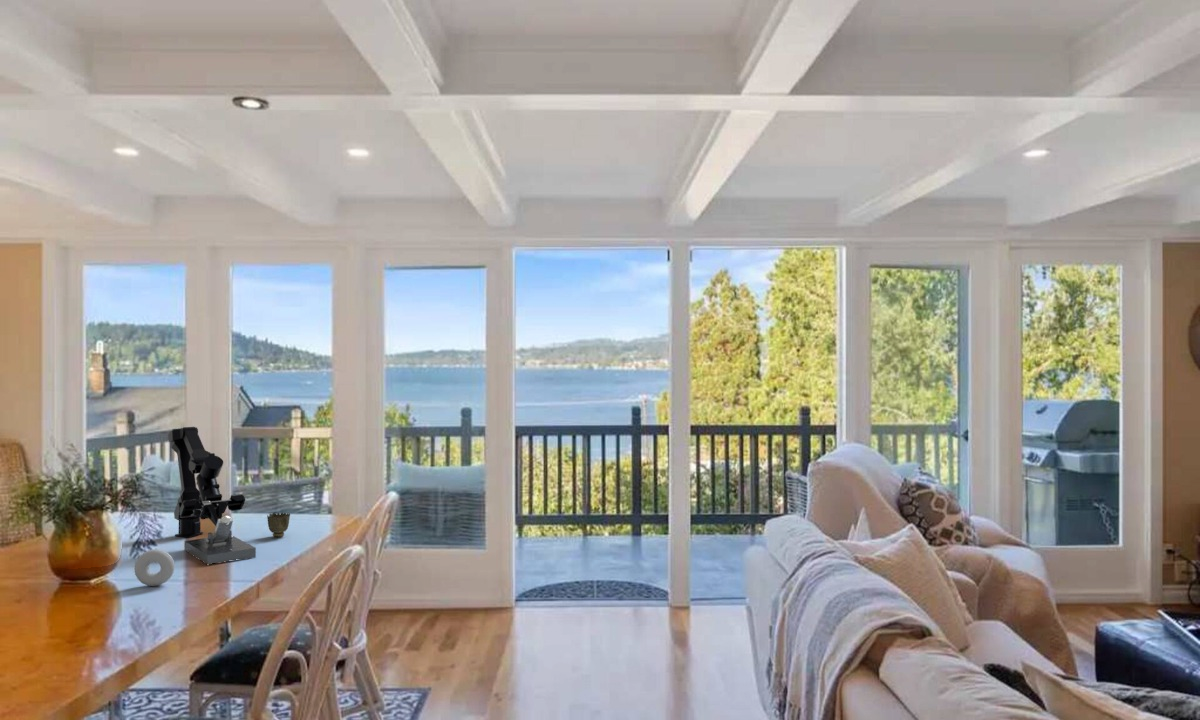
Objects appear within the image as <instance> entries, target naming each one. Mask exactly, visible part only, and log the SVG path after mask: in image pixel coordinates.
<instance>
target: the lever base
mask: <svg viewBox="0 0 1200 720" xmlns="http://www.w3.org/2000/svg"><path fill="white" fill-rule="evenodd" d="M213 535H214V532H210V531H209V532H207V537H203V538H197V539H196V538H195V539H190V540H184V551H185V552H186V551H187V552H186V553H188V552H189V553H190V554H189V553H188V554H189V555H191V554H192V555H191V556H193V555H194V556H195V557H194V556H193V557H194V558H196V557H197V558H199V559H200V560H202V561H204V562H205V563H207V564H211V563H218V562H224V561H229V560H236V559H242V560H246V559H245V558H248V559H253V558H252V557H254V558H256V557H257V555H256V554H257V547H255V546H253V545H251V544H250V543H248V542H245V541H244V540H242V539H240V538H238V537H236V536H235V535H233V534H232V530H231V529H230V532H229V535H228V539H227V542H222V543H215V544H213ZM197 558H196V559H197ZM199 559H198V560H199ZM200 560H199V561H200ZM202 561H201V562H202ZM236 561H237V560H236ZM205 563H204V564H205ZM224 563H225V562H224ZM218 564H219V563H218Z"/></svg>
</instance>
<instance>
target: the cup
mask: <svg viewBox="0 0 1200 720" xmlns="http://www.w3.org/2000/svg"><path fill="white" fill-rule="evenodd" d="M266 515H267V517H266V518H267V524H268V529H269V531H270V532H271V533H272V537H273V538H278V537H279V538H283V537H284V536H285V533H284V532H286V531H287V530H288V527H289V526H290V525H289V524H290V517H291V513H289V512H283V511H282V512H281V513H280V512H277V513H276V512H273V513H269V514H266Z"/></svg>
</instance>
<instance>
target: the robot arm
mask: <svg viewBox="0 0 1200 720" xmlns="http://www.w3.org/2000/svg"><path fill="white" fill-rule="evenodd" d="M167 441H168V442H169V443H170V448H171V449H172V450H173V451H174V452H175V453H176V456H177V463H178V471H179V480H180V488H181V493H180V494H179V497H178V498H177V502H176V506H175V509H174V511H173V515H174V519H176V521H178V533H176V534H174V537H180V538H181V537H182V538H192V537H196V536H199V534H200V535H203V534H204V531H201V520H206V519H207V520H208V519H209V520H210V521H211V522H212V523H213V525H214V526H215V527H216V525H217V521H218V519H221V517H222V516H223V514H225V512H226V509H227V508H228V510H229V511H230V512H233V511H240V510H242V509H243V507H244V504H245V502H246V496H245V495H244V494H241V493H240V494H239V493H238V494H231V496H230V497H229V499H222V498H223V494H222V493H221V492H220V484H219V483H218V480H217V478H218V477H219V476H220V473H221V471H222V468H223V466H224V460H223V459H222V458H221V457H220V456H218V455H216V454H215V453H214V452H209V451H207V450H206V449H205V447H204V445H203V442H202V440H201V438H200V435H199V429H198V427H196V426H187V427H186V426H183V427H180V428H172V429H171V431H169V432H168V436H167ZM195 474H196V475H197V476H195ZM197 487H198V488H197ZM202 533H203V534H202Z"/></svg>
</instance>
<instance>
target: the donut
mask: <svg viewBox="0 0 1200 720" xmlns="http://www.w3.org/2000/svg"><path fill="white" fill-rule="evenodd" d="M152 563H157V564H158V565H159V566H160V570H159V571H158V572H157V573H154V572H151V570H150V569H149V567H150V565H151V564H152ZM175 567H176V566H175V561H174V559H173V557H172V556H171V555H170V554H169V553H168V552H167V551H166V550H165V551H164V549H163V550H162V549H156V548H155V549H151V550H147V551H144V552H143V553H142V554H141V555H140V556H139V557H138V558H137V559H136V561H135V563H134V575H135V577H136V579H137V580H138V582H140V583H141V584H143V585H146V586H148V587H156V586H161V585H164V584H165V583H167V582H168V580H170V579H171V577H173V574H174V573H175Z"/></svg>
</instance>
